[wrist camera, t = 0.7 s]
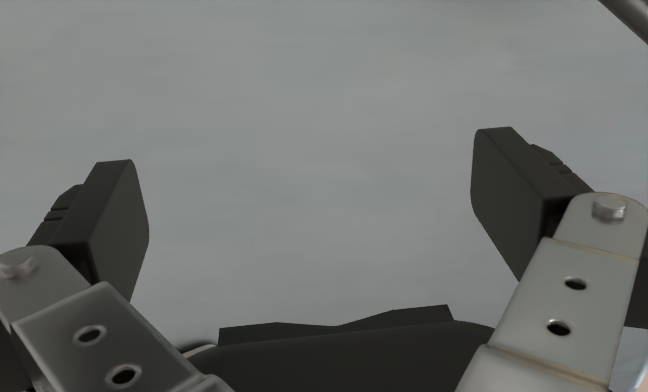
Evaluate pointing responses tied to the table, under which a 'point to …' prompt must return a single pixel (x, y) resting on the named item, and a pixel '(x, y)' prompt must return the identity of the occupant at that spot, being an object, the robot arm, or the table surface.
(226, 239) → the table surface
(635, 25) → the lever
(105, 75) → the table surface
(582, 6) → the table surface
